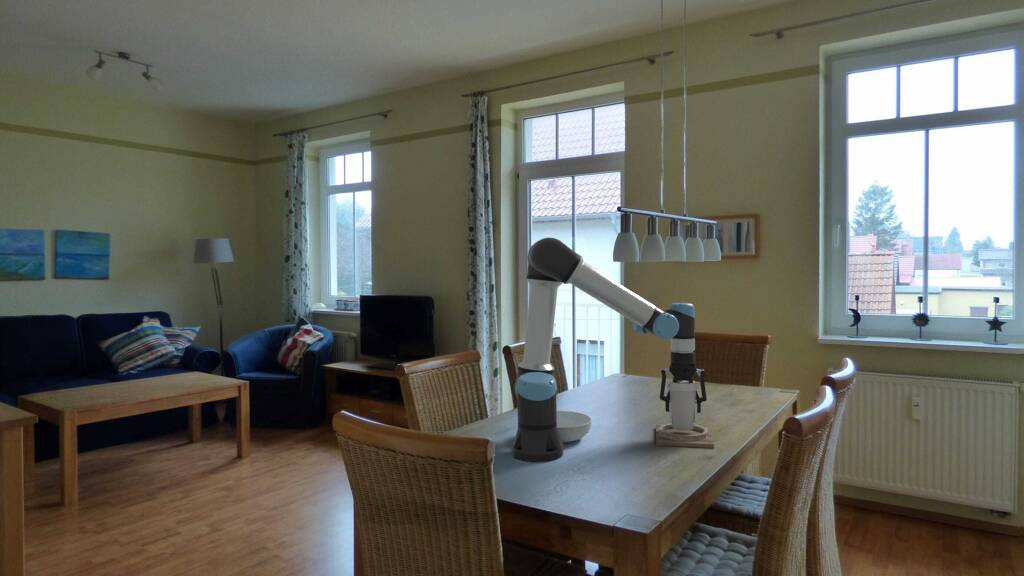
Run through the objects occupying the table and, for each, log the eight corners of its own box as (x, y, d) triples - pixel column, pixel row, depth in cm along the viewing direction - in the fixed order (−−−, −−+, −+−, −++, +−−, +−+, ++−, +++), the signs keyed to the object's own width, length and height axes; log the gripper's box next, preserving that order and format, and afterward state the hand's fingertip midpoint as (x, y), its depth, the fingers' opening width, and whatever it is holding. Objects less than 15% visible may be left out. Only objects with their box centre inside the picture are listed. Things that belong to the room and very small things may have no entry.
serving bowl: (538, 451, 183) (538, 429, 182) (519, 433, 203) (519, 413, 203) (602, 445, 188) (602, 423, 188) (577, 428, 208) (577, 408, 208)
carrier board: (714, 448, 183) (714, 439, 183) (656, 445, 187) (656, 436, 187) (708, 430, 202) (708, 422, 202) (655, 428, 206) (655, 420, 206)
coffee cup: (685, 422, 201) (685, 377, 200) (704, 429, 192) (704, 382, 191) (661, 426, 197) (661, 380, 197) (679, 433, 188) (679, 385, 188)
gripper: (714, 350, 195) (714, 420, 196) (650, 349, 200) (651, 418, 200) (716, 353, 188) (716, 426, 189) (650, 352, 192) (651, 423, 193)
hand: (683, 422), depth 194 cm, fingers closed on coffee cup, 7 cm apart
